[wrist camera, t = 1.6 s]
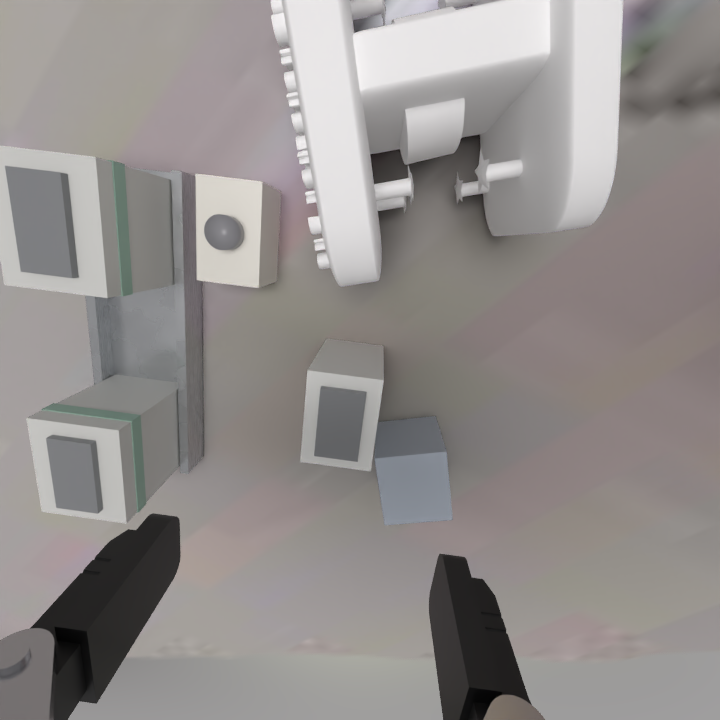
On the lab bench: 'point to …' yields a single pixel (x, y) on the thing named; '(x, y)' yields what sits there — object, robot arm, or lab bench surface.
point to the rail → (160, 326)
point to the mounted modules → (100, 279)
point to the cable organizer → (452, 111)
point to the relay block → (412, 471)
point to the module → (343, 404)
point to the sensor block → (237, 231)
